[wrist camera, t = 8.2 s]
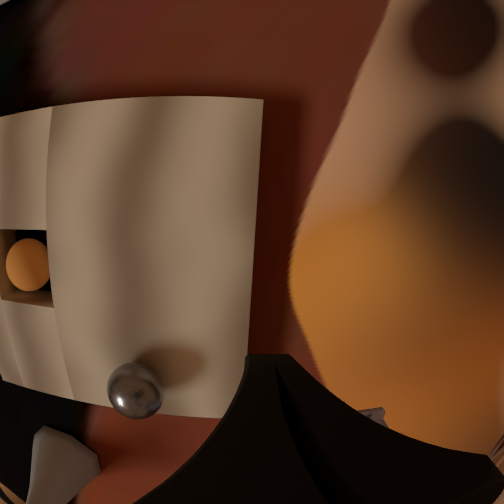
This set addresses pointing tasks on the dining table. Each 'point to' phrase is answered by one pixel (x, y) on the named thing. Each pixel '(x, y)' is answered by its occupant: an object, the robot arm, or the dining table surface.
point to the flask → (59, 467)
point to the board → (132, 245)
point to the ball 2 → (135, 390)
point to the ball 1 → (28, 264)
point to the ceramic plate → (3, 1)
